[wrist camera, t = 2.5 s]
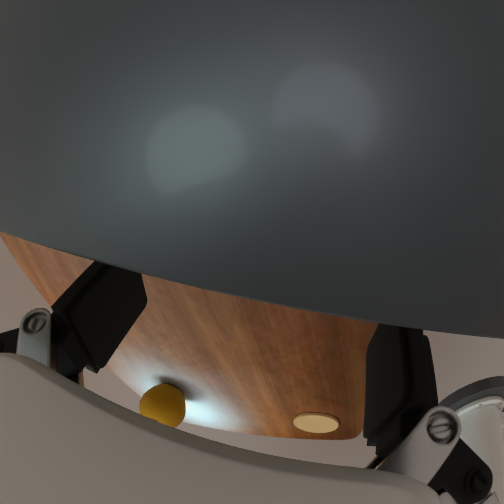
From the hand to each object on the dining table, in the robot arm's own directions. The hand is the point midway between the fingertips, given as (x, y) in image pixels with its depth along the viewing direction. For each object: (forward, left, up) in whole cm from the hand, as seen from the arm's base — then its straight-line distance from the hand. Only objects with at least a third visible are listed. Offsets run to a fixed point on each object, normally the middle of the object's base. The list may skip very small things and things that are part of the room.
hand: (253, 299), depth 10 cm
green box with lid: (0, -8, -16) cm, 17 cm away
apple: (+18, +43, -16) cm, 49 cm away
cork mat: (-9, +42, -16) cm, 46 cm away
